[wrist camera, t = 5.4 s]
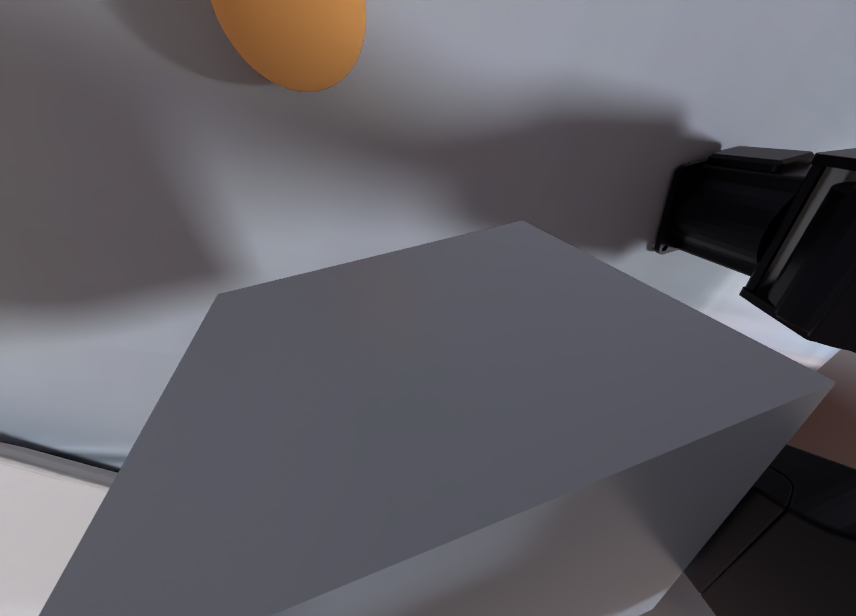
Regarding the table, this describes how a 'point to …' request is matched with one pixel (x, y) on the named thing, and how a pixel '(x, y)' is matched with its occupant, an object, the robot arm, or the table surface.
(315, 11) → the ball
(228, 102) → the table surface
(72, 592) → the grey block
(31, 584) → the salad plate
